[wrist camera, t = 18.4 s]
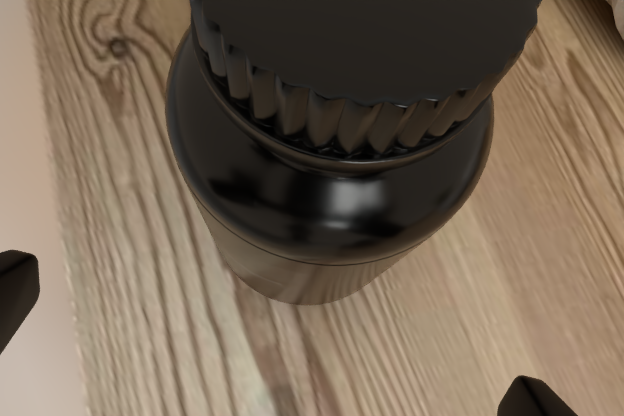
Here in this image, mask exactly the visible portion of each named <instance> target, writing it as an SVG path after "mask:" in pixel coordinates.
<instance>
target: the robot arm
mask: <svg viewBox="0 0 624 416" xmlns="http://www.w3.org/2000/svg"><path fill="white" fill-rule="evenodd" d="M39 292H40V285H39V269H38V260H37V258H36V256H34V255H33V254H30V253H26V252H22V251H18V250H8V251H5V252H1V253H0V354H1V353H2V351H3V350H4V349H5V347H6V346H7V344H8V343H9V341H10V340H11V338H12V337H13V335H14V334H15V333H16V331H17V330H18V328H19V327H20V325H21V324H22V323H23V321H24V320H25V318H26V317H27V315H28V314H29V312H30V311H31V309H32V308H33V306H34V305H35V303H36V301H37V300H38V297H39ZM497 416H578V415H577V414H576V413H575V412H574V411H573V410H572V409H571V408H570V407H569V406H568V405H567V404H566V403H565V402H564V401H563V400H562V399H561V398H560V397H559V396H558V395H557V394H556V393H555V392H554V391H553V390H552V389H551V388H550V387H549V386H548V385H547V384H546V383H544V382H543V381H542V380H539V379H536V378H532V377H528V376H524V375H521V376H518V377H516V378H515V379H514V381H513V382H512V384H511V386H510V387H509V389H508V390H507V392H506V394H505V395H504V397H503V399H502V400H501V402H500V404H499V407H498V411H497Z"/></svg>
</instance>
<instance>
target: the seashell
mask: <svg viewBox="0 0 624 416" xmlns="http://www.w3.org/2000/svg"><path fill="white" fill-rule="evenodd" d="M606 1H607V2H608V3H609V4H610V5H611V6H612V9H613V14H614V19H615V23H616V27H617V29H618V31H619V33H620V35H621V37H622V38H623V40H624V0H606Z"/></svg>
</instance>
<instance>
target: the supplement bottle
mask: <svg viewBox="0 0 624 416" xmlns="http://www.w3.org/2000/svg"><path fill="white" fill-rule="evenodd" d="M541 1H542V0H190V5H191V24H190V26H189V27H188V29H187V30H186V32H185V33H184V35H183V37H182V39H181V41H180V43H179V45H178V47H177V49H176V52H175V55H174V57H173V60H172V63H171V66H170V70H169V74H168V78H167V85H166V93H165V116H166V126H167V131H168V135H169V140H170V144H171V147H172V150H173V153H174V156H175V159H176V162H177V165H178V167H179V169H180V171H181V173H182V176H183V178H184V180H185V182H186V184H187V186H188V188H189V190H190V192H191V194H192V196H193V198H194V200H195V202H196V204H197V206H198V208H199V210H200V213H201V215H202V217H203V219H204V221H205V223H206V225H207V227H208V229H209V231H210V233H211V235H212V237H213V239H214V241H215V243H216V245H217V247H218V249H219V251H220V253H221V254H222V256H223V258H224V259H225V261H226V262H227V264H228V265H229V267H230V268H231V269H232V271H233V272H234V273H235V274H236V275H237V276H238V277H239V278H240V279H241V280H242V281H243V282H245V283H246V284H247V285H248V286H250V287H251V288H253V289H254V290H255V291H257V292H259V293H261V294H262V295H264V296H267V297H269V298H271V299H274V300H277V301H280V302H284V303H289V304H296V305H318V304H324V303H329V302H333V301H336V300H339V299H342V298H344V297H346V296H349V295H350V294H352V293H354V292H356V291H358V290H359V289H361V288H362V287H364V286H365V285H367V284H368V283H370V282H371V281H372V280H374V279H375V278H376V277H378V276H379V275H380V274H382V273H383V272H384V271H386V270H387V269H388V268H390V267H391V266H392V265H394V264H395V263H396V262H398V261H399V260H400V259H401V258H403V257H404V256H405V255H407V254H408V253H409V252H411V251H412V250H413V249H415V248H416V247H417V246H419V245H420V244H421V243H423V242H424V241H425V240H427V239H428V238H429V237H431V236H432V235H433V234H434V233H435V232H437V231H438V230H439V229H440V228H441V227H442V226H444V225H445V224H446V223H447V222H448V221H449V220H450V219H451V218H452V217H453V215H454V214H455V213H456V212H457V211H458V210H459V209H460V208H461V207H462V206H463V204H464V203H465V202H466V200H467V199H468V198H469V196H470V195H471V193H472V192H473V190H474V188H475V187H476V185H477V183H478V181H479V179H480V177H481V175H482V172H483V170H484V168H485V165H486V162H487V159H488V156H489V153H490V148H491V143H492V137H493V127H494V104H493V96H492V92H493V90H494V88H495V87H496V85H497V84H498V83H499V82H500V81H501V79H502V78H503V77H504V76H505V75H506V73H507V72H508V71H509V70H510V69H511V67H512V66H513V65H514V64H515V62H516V61H517V60H518V58H519V57H520V55H521V53H522V51H523V49H524V45H525V42H526V41H527V40H528V38H529V37H530V36H531V34H532V33H533V31H534V29H535V27H536V25H537V8H538V7H539V5H540V4H541Z"/></svg>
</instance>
